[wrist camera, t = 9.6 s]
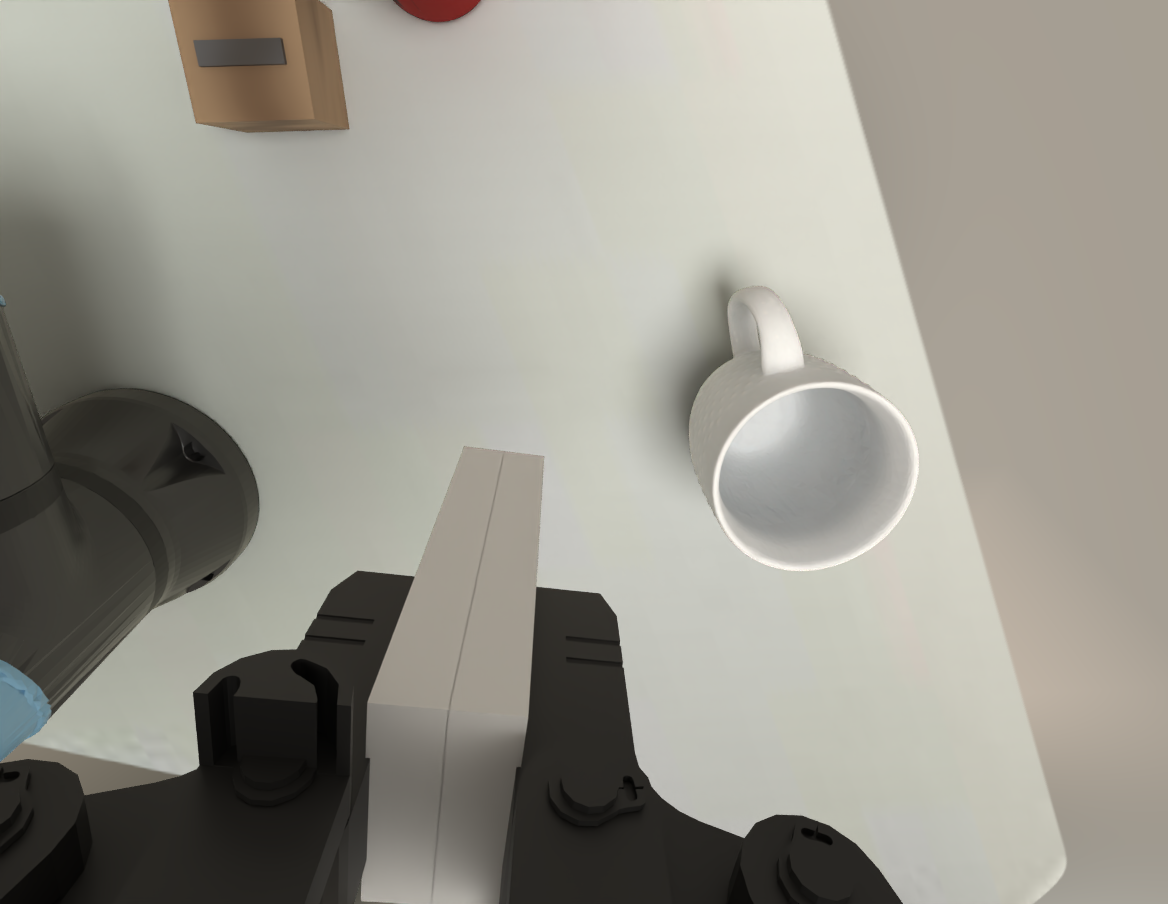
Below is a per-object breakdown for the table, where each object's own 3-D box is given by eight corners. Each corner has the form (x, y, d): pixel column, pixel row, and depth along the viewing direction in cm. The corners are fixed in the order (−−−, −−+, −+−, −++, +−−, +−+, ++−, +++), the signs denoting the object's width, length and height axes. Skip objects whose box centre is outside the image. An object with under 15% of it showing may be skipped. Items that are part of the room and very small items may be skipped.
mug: (643, 296, 43) (676, 337, 31) (808, 251, 42) (907, 275, 30) (688, 493, 49) (731, 594, 36) (835, 456, 48) (928, 546, 36)
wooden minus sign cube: (248, 132, 39) (192, 122, 33) (224, 13, 37) (160, -20, 31) (349, 129, 39) (312, 118, 33) (332, 10, 37) (288, -24, 31)
